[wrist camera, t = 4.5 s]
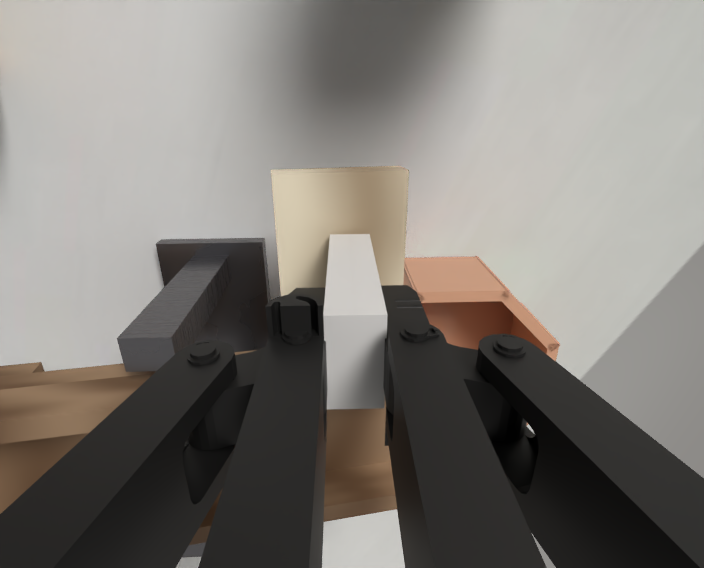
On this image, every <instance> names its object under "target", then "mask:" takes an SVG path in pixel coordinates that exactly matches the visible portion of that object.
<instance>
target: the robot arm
mask: <svg viewBox="0 0 704 568" xmlns="http://www.w3.org/2000/svg"><path fill="white" fill-rule="evenodd" d="M265 307H266V317H267V328H268V341H267V344H266V346H265V347H263V348H261V349H259V350H256V351H252V352H248V353H243V354H238V355H235V352H234V348H233V347H232V346H231V345H230V344H229V343H226V342H222V341H211V340H206V341H203V342H202V341H200V342H196V343H194V344H192V345H189V346H186V347H185V348H183V349H182V350H180V351H179V352H177V353H176V354H175V355H174V356H173V357H172V358H171V359H169V360H168V361H167V362H166V363H165V364H164V365H163V366H162V367H161V368H160V369H159V370H157V371H156V372H155V373H154V374H153V375H152V376H151V377H150V378H149V379H148V380H146V381H145V382H144V383H143V384H142V385H141V386H140V387H139V388H138V389H137V390H136V391H134V392H133V393H132V394H131V395H130V396H129V397H128V398H127V399H126V400H125V401H123V402H122V403H121V404H120V405H119V406H118V407H117V408H116V409H115V410H114V411H112V412H111V413H110V414H109V415H108V416H107V417H106V418H105V419H104V420H103V421H102V422H100V423H99V424H98V425H97V426H96V427H95V428H94V429H93V430H92V431H91V432H89V433H88V434H87V435H86V436H85V437H84V438H83V439H82V440H81V441H80V442H79V443H77V444H76V445H75V446H74V447H73V448H72V449H71V450H70V451H69V452H68V453H66V454H65V455H64V456H63V457H62V458H61V459H60V460H59V461H58V462H57V463H56V464H54V465H53V466H52V467H51V468H50V469H49V470H48V471H47V472H46V473H45V474H43V475H42V476H41V477H40V478H39V479H38V480H37V481H36V482H35V483H34V484H33V485H31V486H30V487H29V488H28V489H27V490H26V491H25V492H24V493H23V494H22V495H20V496H19V497H18V498H17V499H16V500H15V501H14V502H13V503H12V504H11V505H10V506H8V507H7V508H6V509H5V510H4V511H3V512H2V513H1V514H0V568H176V566H177V564H178V562H179V561H180V559H181V557H182V556H183V554H184V552H185V551H186V549H187V547H188V546H189V544H190V542H191V541H192V539H193V537H194V535H195V534H196V532H197V530H198V529H199V527H200V525H201V524H202V522H203V520H204V519H205V517H206V515H207V513H208V512H209V510H210V508H211V507H212V505H213V503H214V502H215V500H216V498H217V497H218V495H219V493H220V491H221V490H222V492H221V495H220V498H219V502H218V505H217V508H216V512H215V515H214V518H213V521H212V525H211V528H210V531H209V535H208V538H207V541H206V544H205V548H204V551H203V554H202V558H201V561H200V564H199V567H198V568H322V547H323V520H324V494H325V468H326V442H327V409H376V408H384V404H385V401H386V420H385V446H389V452H390V459H391V466H392V474H393V481H394V488H395V496H396V503H397V510H398V518H399V525H400V532H401V540H402V547H403V554H404V562H405V568H546V565H545V563H544V561H543V559H542V556H541V554H540V552H539V549H538V547H537V545H536V543H535V540H534V538H533V536H532V534H533V535H534V537H535V538H536V539H537V541H538V542H539V544H540V545H541V547H542V548H543V550H544V551H545V552H546V554H547V555H548V557H549V558H550V559H551V561H552V562H553V564H554V565H555V567H556V568H704V478H702V477H701V476H700V475H699V474H697V473H696V472H695V471H694V470H692V469H691V468H690V467H688V466H687V465H686V464H685V463H683V462H682V461H681V460H680V459H678V458H677V457H676V456H675V455H673V454H672V453H671V452H669V451H668V450H667V449H666V448H664V447H663V446H662V445H661V444H659V443H658V442H657V441H656V440H654V439H653V438H652V437H650V436H649V435H648V434H647V433H645V432H644V431H643V430H642V429H640V428H639V427H638V426H636V425H635V424H634V423H633V422H632V421H630V420H629V419H628V418H626V417H625V416H624V415H622V414H621V413H620V412H619V411H618V410H616V409H615V408H614V407H612V406H611V405H610V404H609V403H607V402H606V401H605V400H604V399H602V398H601V397H600V396H599V395H597V394H596V393H595V392H594V391H592V390H591V389H590V388H588V387H587V386H586V385H585V384H583V383H582V382H581V381H580V380H578V379H577V378H576V377H575V376H573V375H572V374H571V373H569V372H568V371H567V370H566V369H564V368H563V367H562V366H561V365H559V364H558V363H557V362H556V361H554V360H553V359H552V358H551V357H549V356H548V355H547V354H545V353H544V352H543V351H542V350H540V349H539V348H538V347H537V346H535V345H534V344H532V343H531V342H529V341H527V340H525V339H523V338H520V337H517V336H515V335H510V334H509V335H508V334H492V335H489V336H486V337H484V338H482V339H481V340H480V341H479V347H478V350H476V349H470V348H464V347H459V346H455V345H452V344H449V343H447V341H446V339H445V336H444V334H443V333H442V332H441V331H440V329H438V328H436V327H435V326H433V325H430V323H429V321H428V318H427V316H426V313H425V311H424V308H423V306H422V303H421V301H420V298H419V296H418V294H417V292H416V291H415V290H414V289H412V288H411V287H409V286H408V285H381V283H380V279H379V274H378V270H377V265H376V261H375V256H374V252H373V247H372V243H371V238H370V234H330V240H329V252H328V264H327V276H326V287H322V288H296V289H294V290H293V291H292V292H291V293H290V294H288V295H284V296H281V297H277V298H275V299H273V300H271V301H269V303H268V304H267V305H266V306H265ZM527 423H528V424H529V425H530V426H531V428H532V429H533V431H534V433H535V434H533V433H532V432H531V431H530V430H529V429H528V428H527V426H526V425H527ZM222 488H223V489H222ZM531 533H532V534H531Z"/></svg>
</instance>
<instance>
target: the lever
mask: <svg viewBox="0 0 704 568" xmlns="http://www.w3.org/2000/svg"><path fill="white" fill-rule="evenodd" d="M271 178H272V191H273V203H274V216H275V228H276V241H277V253H278V266H279V278H280V291H281V296H284V295H288V294H290V293H291V292H292V291H293V290H294V289H296V288H322V287H326V276H327V264H328V252H329V240H330V234H370V238H371V243H372V247H373V252H374V256H375V261H376V265H377V270H378V274H379V279H380V283H381V285H403V281H404V260H405V240H406V220H407V199H408V179H409V170H407V169H405V168H403V167H401V166H378V167H345V168H313V169H281V170H271ZM252 351H256V350H252ZM252 351H242V352H235V355H238V354H243V353H248V352H252ZM155 372H156V371H142V372H126V370H125V366H124V364H115V365H105V366H95V367H85V368H76V369H66V370H56V371H46V372H44V369H43V366H42V363H41V362H38V363H28V364H18V365H8V366H0V514H1V513H2V512H3V511H4V510H5V509H6V508H7V507H8V506H10V505H11V504H12V503H13V502H14V501H15V500H16V499H17V498H18V497H19V496H20V495H22V494H23V493H24V492H25V491H26V490H27V489H28V488H29V487H30V486H31V485H33V484H34V483H35V482H36V481H37V480H38V479H39V478H40V477H41V476H42V475H43V474H45V473H46V472H47V471H48V470H49V469H50V468H51V467H52V466H53V465H54V464H56V463H57V462H58V461H59V460H60V459H61V458H62V457H63V456H64V455H65V454H66V453H68V452H69V451H70V450H71V449H72V448H73V447H74V446H75V445H76V444H77V443H79V442H80V441H81V440H82V439H83V438H84V437H85V436H86V435H87V434H88V433H89V432H91V431H92V430H93V429H94V428H95V427H96V426H97V425H98V424H99V423H100V422H102V421H103V420H104V419H105V418H106V417H107V416H108V415H109V414H110V413H111V412H112V411H114V410H115V409H116V408H117V407H118V406H119V405H120V404H121V403H122V402H123V401H125V400H126V399H127V398H128V397H129V396H130V395H131V394H132V393H133V392H134V391H136V390H137V389H138V388H139V387H140V386H141V385H142V384H143V383H144V382H145V381H146V380H148V379H149V378H150V377H151V376H152V375H153V374H154V373H155ZM385 420H386V401H385V404H384V408H376V409H327V442H326V468H325V494H324V520H323V522H325V521H331V520H337V519H342V518H348V517H354V516H360V515H365V514H371V513H377V512H383V511H388V510H394V509H397V503H396V496H395V488H394V481H393V474H392V466H391V459H390V452H389V446H385ZM222 489H223V488H222ZM221 492H222V490H221V491H220V493H219V495H218V497H217V498H216V500H215V502H214V503H213V505H212V507H211V508H210V510H209V512H208V513H207V515H206V517H205V519H204V520H203V522H202V524H201V525H200V527H199V529H198V530H197V532H196V534H195V535H194V537H193V539H192V541H191V542H190V544H189V545H193V544H199V543H205V542H206V541H207V538H208V535H209V531H210V528H211V525H212V521H213V518H214V515H215V512H216V508H217V505H218V502H219V498H220V495H221Z"/></svg>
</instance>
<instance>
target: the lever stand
mask: <svg viewBox="0 0 704 568" xmlns="http://www.w3.org/2000/svg"><path fill="white" fill-rule="evenodd" d="M156 246H157V251H158V256H159V261H160V266H161V271H162V276H163V281H164V286H165V287H164V288H163V289H162V291H161V292H160V293H159V294H158V295H157V296H156V297H155V298H154V299H153V300H152V301H151V302H150V303H149V305H148V306H147V307H146V308H145V309H144V310H143V311H142V312H141V313H140V314H139V315H138V316H137V318H136V319H135V320H134V321H133V322H132V323H131V324H130V325H129V326H128V327H127V328H126V329H125V330H124V332H123V333H122V334H121V335H120V336H119V337H118V338H117V340H118V344H119V348H120V351H121V355H122V359H123V363H124V366H125V370H126V372H142V371H157V370H159V369H160V368H161V367H162V366H163V365H164V364H165V363H166V362H167V361H168V360H169V359H171V358H172V357H173V356H174V355H175V354H176V353H177V352H179V351H180V350H182V349H183V348H185V347H186V346H189V345H192V344H194V343H196V342H200V341H202V342H203V341H206V340H211V341H222V342H226V343H229V344H230V345H231V346H232V347H233V348H234V352H242V351H252V350H259V349H261V348H263V347H265V346H266V344H267V341H268V328H267V317H266V307H265V306H266V305H267V304H268V303H269V301H270V292H269V281H268V270H267V260H266V249H265V238H235V239H170V240H160V241H159V242H158V243H156ZM205 544H206V542H205V543H199V544H193V545H189V546H188V547H187V549H186V551H185V552H184V554H183V556H182V557H201V556H202V554H203V551H204V548H205Z"/></svg>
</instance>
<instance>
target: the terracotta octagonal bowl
mask: <svg viewBox="0 0 704 568" xmlns="http://www.w3.org/2000/svg"><path fill="white" fill-rule="evenodd" d="M403 285H408V286H409V287H411V288H412V289H414V290H415V291H416V292H417V294H418V296H419V298H420V301H421V303H422V306H423V308H424V311H425V313H426V316H427V318H428V321H429V323H430V325H433V326H435V327H436V328H438V329H440V331H441V332H442V333H443V334H444V336H445V339H446V341H447V343H449V344H452V345H455V346H459V347H464V348H470V349H476V350H478V347H479V341H480V340H481V339H482V338H484V337H486V336H489V335H492V334H508V335H509V334H510V335H515V336H517V337H520V338H523V339H525V340H527V341H529V342H531V343H532V344H534V345H535V346H537V347H538V348H539V349H540V350H542V351H543V352H544V353H545V354H547V355H548V356H549V357H551V358H552V359H553V360H554V361H556V357H557V353H558V348H559V346H560V345H559V344H560V343H559V342H558V341H557V340H556V339H555V338H554V337H553V336H552V335H551V334H550V333H549V332H548V331H547V329H546V328H545V327H544V326H543V325H542V324H541V323H540V322H539V321H538V320H537V319H536V318H535V317H534V316H533V315H532V313H531V312H530V311H529V310H528V309H527V308H526V307H525V306H524V305H523V304H522V303H520V302H519V301H518V300H517V299H516V298H515V297H514V296H513V295H512V293H511V292H510V290H509V289H508V288H507V287H506V286H505V285H504V284H503V283H502V282H501V281H500V280H499V279H498V277H497V276H496V275H495V274H494V273H493V272H492V271H491V270H490V269H489V268H488V267H487V266H486V265H485V264H484V262H483V261H482V260H481V259H480V258H479V257H477V256H475V257H434V258H405V260H404V281H403ZM527 425H528V423H527ZM527 425H526V426H527Z"/></svg>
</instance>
